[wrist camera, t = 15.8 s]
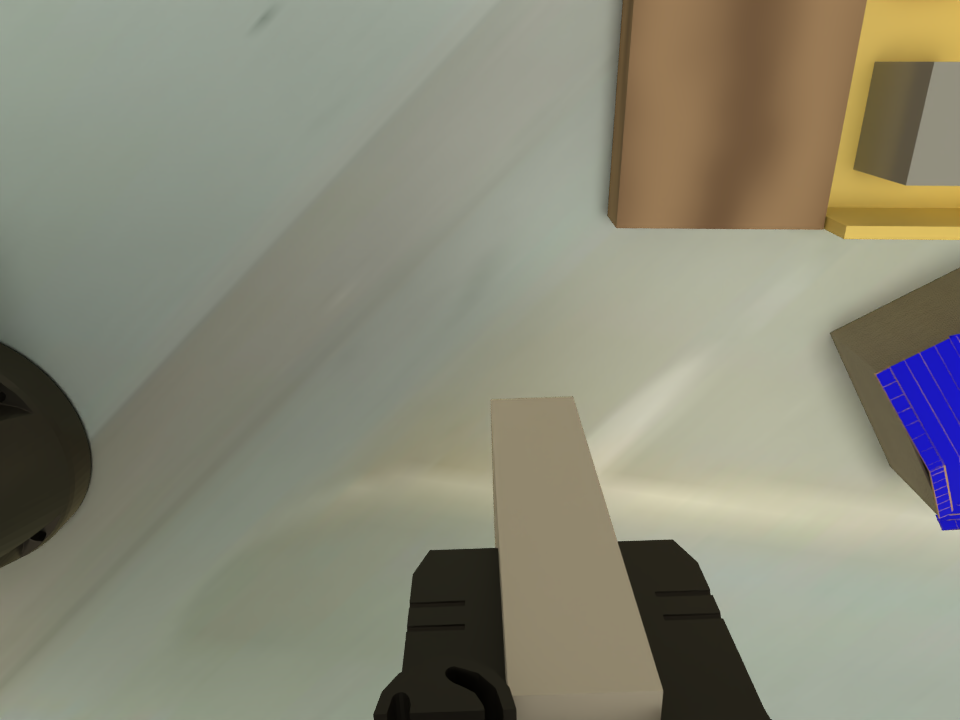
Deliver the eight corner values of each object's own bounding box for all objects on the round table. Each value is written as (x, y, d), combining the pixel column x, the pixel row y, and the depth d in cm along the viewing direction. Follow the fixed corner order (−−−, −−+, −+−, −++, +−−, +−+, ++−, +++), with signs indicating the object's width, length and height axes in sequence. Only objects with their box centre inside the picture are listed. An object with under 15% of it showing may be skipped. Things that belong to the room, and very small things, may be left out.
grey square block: (905, 185, 31) (975, 185, 31) (934, 61, 29) (1008, 62, 29) (853, 169, 36) (913, 169, 36) (874, 61, 34) (938, 61, 34)
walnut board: (607, 215, 37) (616, 228, 35) (637, -206, 30) (651, -232, 28) (799, 216, 37) (823, 229, 35) (873, -207, 30) (911, -233, 28)
